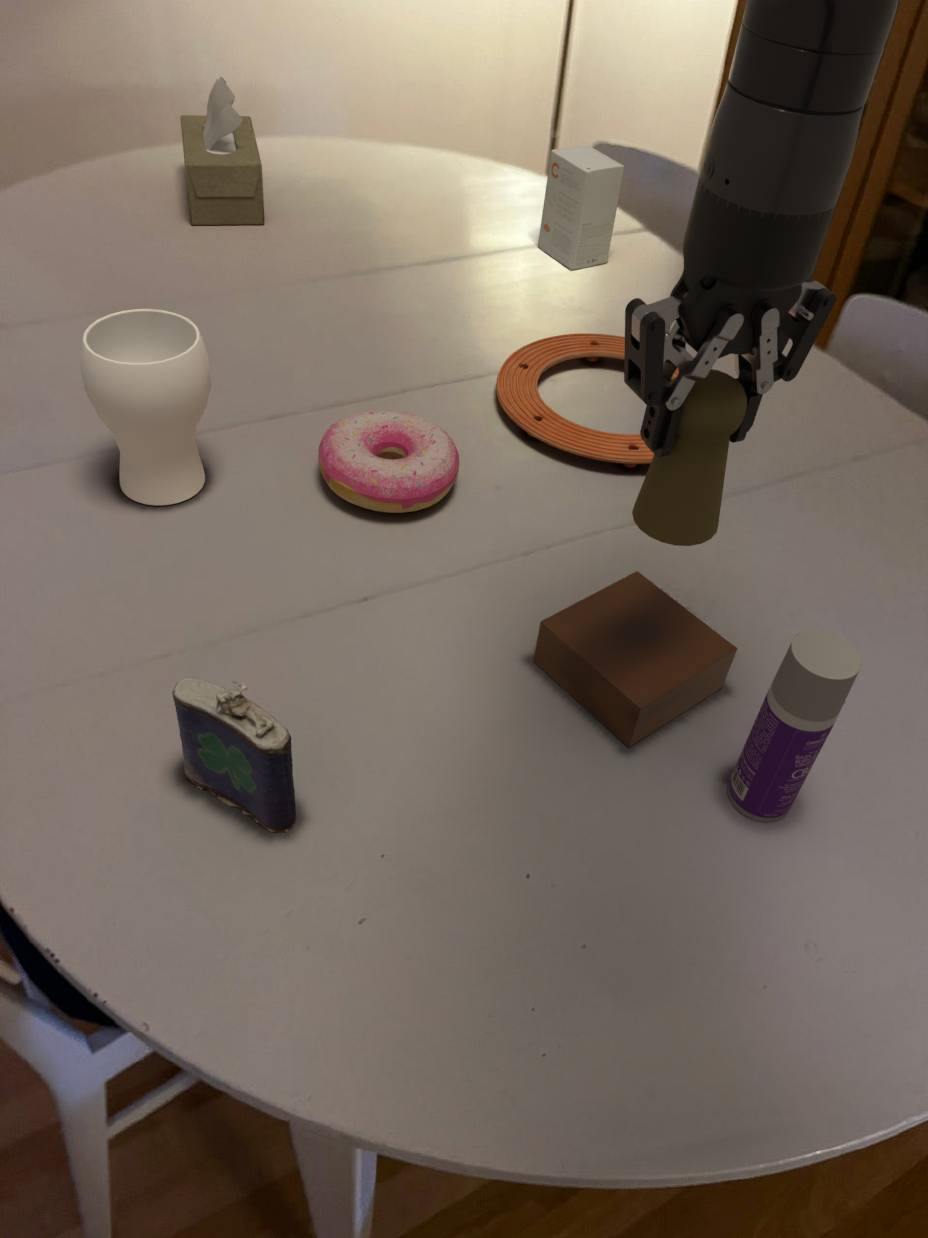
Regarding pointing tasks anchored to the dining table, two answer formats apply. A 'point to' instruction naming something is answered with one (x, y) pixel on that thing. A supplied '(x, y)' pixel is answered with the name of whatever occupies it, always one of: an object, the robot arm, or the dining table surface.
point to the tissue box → (222, 164)
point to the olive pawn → (692, 465)
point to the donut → (388, 461)
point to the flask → (236, 751)
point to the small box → (580, 206)
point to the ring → (547, 425)
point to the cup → (150, 399)
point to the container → (793, 724)
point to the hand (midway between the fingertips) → (693, 441)
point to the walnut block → (633, 656)
